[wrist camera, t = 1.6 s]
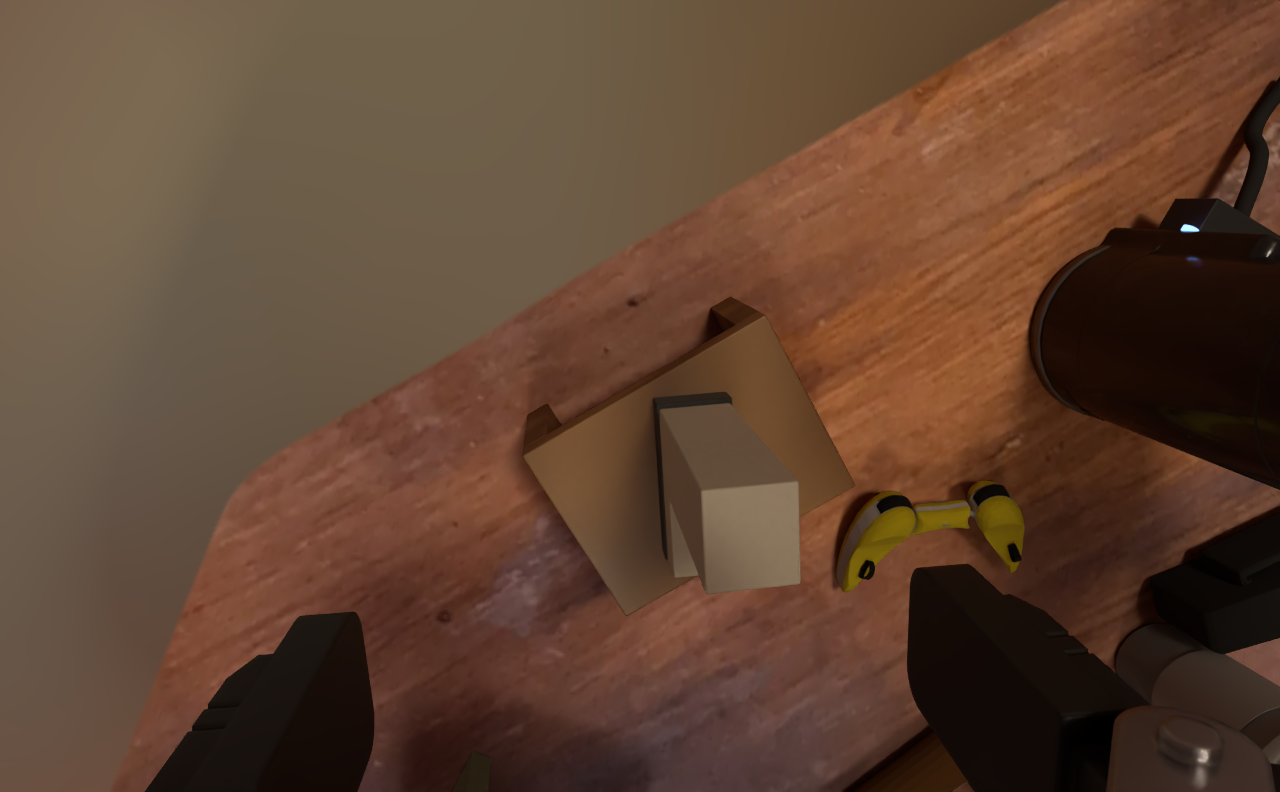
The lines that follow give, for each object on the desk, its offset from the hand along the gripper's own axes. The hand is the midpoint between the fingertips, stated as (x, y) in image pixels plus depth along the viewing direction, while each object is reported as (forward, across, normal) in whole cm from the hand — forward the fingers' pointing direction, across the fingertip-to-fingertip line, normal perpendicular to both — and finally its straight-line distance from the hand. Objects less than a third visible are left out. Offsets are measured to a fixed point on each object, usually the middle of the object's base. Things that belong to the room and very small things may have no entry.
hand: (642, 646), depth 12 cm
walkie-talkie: (+28, -32, +18) cm, 46 cm away
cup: (+30, -32, +22) cm, 49 cm away
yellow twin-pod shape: (+30, -18, +12) cm, 37 cm away
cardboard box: (+30, -4, +6) cm, 31 cm away
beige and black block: (+23, -4, +6) cm, 24 cm away
